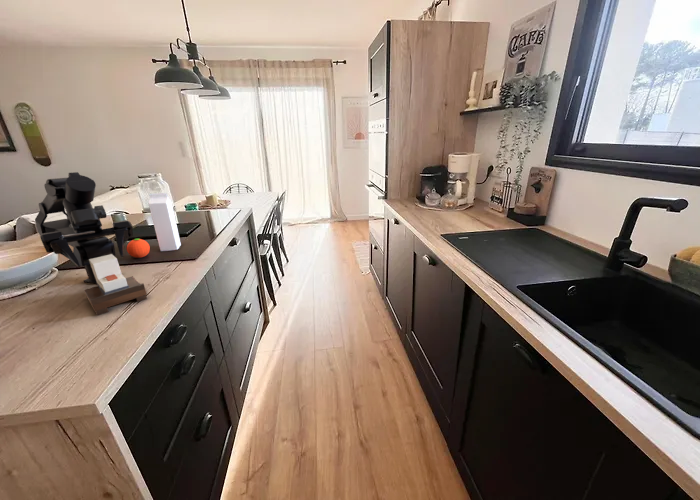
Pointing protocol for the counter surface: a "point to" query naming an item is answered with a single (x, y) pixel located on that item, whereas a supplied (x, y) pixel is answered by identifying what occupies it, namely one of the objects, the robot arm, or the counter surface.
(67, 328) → the counter surface
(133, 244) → the clementine
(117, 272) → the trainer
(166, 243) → the milk
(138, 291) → the brown wooden stand
